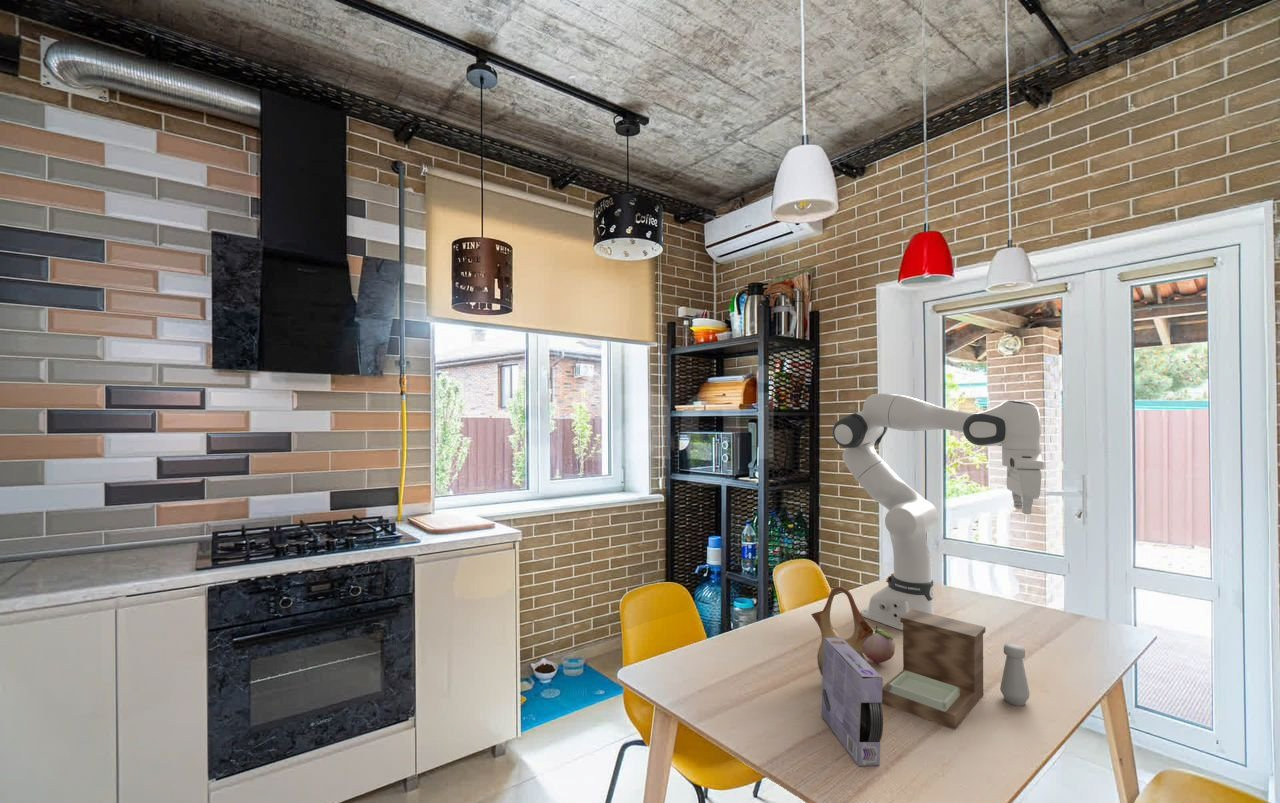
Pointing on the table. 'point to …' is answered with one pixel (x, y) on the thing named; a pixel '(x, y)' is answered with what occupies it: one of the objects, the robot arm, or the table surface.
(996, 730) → the table surface
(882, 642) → the decorative fruit
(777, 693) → the table surface
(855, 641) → the ceramic vessel
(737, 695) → the table surface
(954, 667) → the wooden stand
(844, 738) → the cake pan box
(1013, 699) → the salt shaker
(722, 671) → the table surface
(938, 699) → the tray
